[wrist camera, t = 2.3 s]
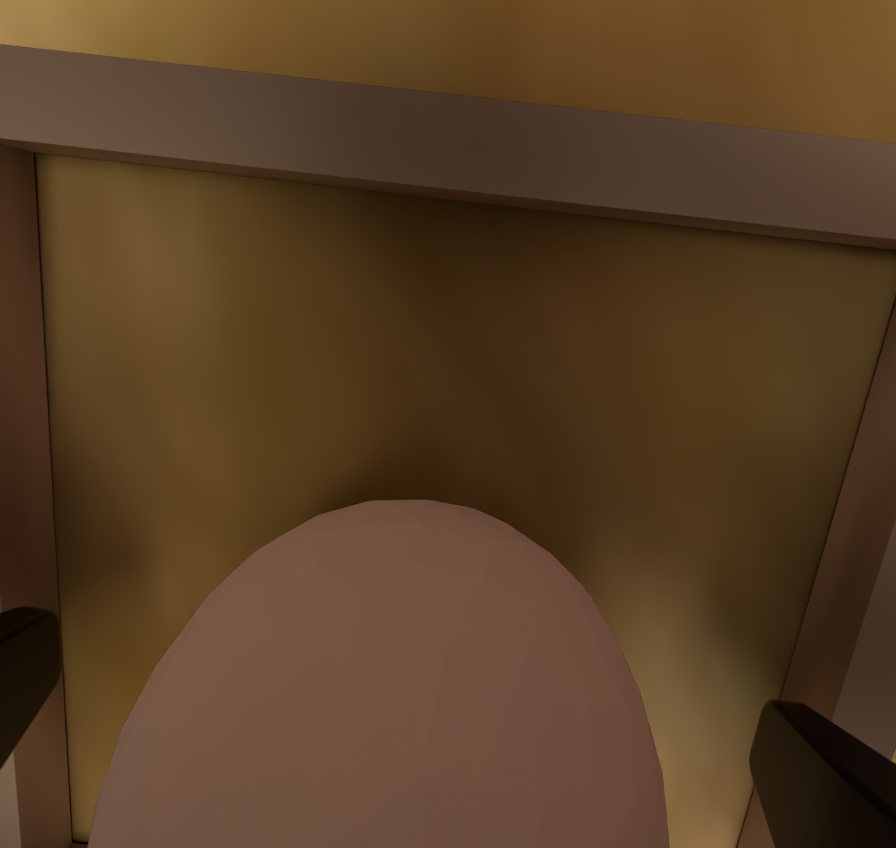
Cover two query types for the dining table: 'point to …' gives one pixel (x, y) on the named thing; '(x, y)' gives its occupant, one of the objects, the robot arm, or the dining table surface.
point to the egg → (389, 701)
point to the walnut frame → (456, 178)
